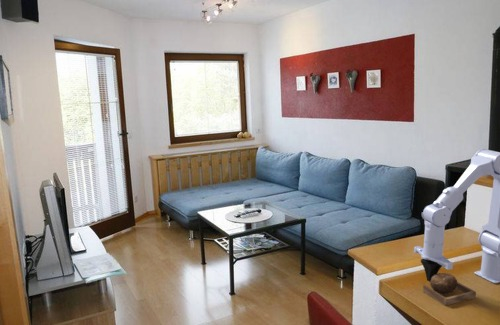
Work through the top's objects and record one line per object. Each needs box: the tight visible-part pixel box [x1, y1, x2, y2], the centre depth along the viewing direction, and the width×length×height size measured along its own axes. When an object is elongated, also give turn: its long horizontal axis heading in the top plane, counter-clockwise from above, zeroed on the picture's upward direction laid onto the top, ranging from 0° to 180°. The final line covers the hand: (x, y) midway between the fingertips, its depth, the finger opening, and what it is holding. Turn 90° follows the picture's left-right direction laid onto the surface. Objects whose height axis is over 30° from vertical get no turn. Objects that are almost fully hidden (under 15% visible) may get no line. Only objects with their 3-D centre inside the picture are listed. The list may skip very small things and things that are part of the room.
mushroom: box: [429, 272, 458, 296], centre depth 125 cm, size 8×8×6 cm
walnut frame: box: [422, 281, 477, 306], centre depth 124 cm, size 12×9×2 cm
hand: (430, 280), depth 131 cm, fingers closed
